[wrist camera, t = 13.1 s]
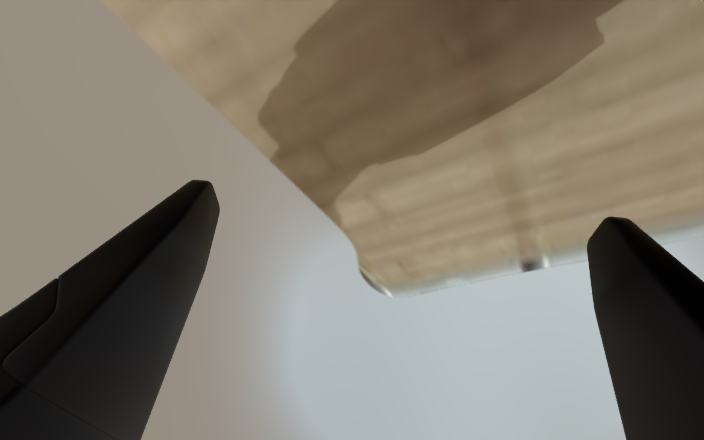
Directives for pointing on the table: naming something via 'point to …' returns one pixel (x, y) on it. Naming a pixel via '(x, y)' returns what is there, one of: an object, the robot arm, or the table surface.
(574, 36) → the table surface
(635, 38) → the table surface
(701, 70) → the table surface
